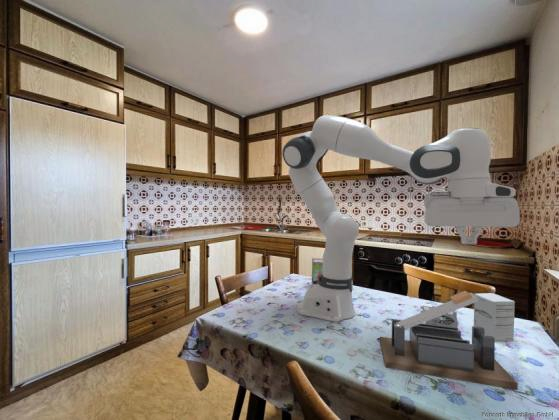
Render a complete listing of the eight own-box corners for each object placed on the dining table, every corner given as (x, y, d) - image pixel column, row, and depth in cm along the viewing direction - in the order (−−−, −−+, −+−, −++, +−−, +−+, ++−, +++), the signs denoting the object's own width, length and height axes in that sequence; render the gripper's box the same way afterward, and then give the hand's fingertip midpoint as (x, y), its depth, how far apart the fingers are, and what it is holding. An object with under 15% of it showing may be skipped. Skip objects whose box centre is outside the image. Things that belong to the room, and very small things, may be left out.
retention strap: (397, 333, 68) (392, 325, 68) (395, 328, 71) (391, 320, 71) (480, 301, 63) (474, 292, 63) (474, 297, 66) (469, 289, 66)
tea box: (313, 291, 121) (313, 261, 121) (311, 285, 132) (311, 257, 131) (344, 292, 121) (344, 262, 121) (340, 286, 131) (340, 258, 131)
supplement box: (472, 330, 84) (473, 293, 84) (492, 329, 85) (493, 292, 85) (493, 341, 77) (493, 301, 77) (515, 340, 78) (515, 300, 77)
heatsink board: (385, 367, 64) (385, 330, 64) (379, 341, 77) (380, 310, 77) (517, 389, 57) (518, 348, 57) (487, 356, 69) (487, 322, 69)
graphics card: (420, 304, 99) (457, 310, 92) (420, 313, 99) (457, 320, 92) (416, 320, 85) (459, 329, 78) (416, 331, 85) (460, 341, 78)
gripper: (427, 191, 65) (427, 244, 65) (524, 189, 59) (524, 246, 59) (420, 192, 71) (421, 241, 71) (507, 190, 65) (507, 243, 66)
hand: (468, 243), depth 65 cm, fingers closed
